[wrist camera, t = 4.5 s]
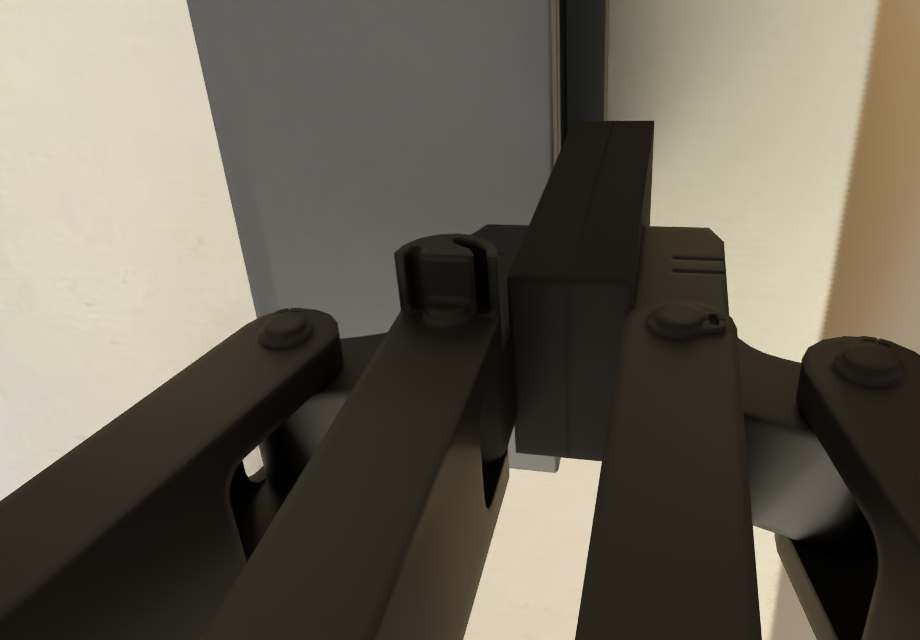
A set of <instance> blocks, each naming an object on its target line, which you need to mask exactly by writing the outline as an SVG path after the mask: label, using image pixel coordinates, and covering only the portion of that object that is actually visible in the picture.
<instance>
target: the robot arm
mask: <svg viewBox="0 0 920 640" xmlns="http://www.w3.org/2000/svg"><path fill="white" fill-rule="evenodd" d="M653 138H654V121H573V123H572V125H571V127H570V130H569V132H568V134H567V137H566V139H565V141H564V144H563V146H562V148H561V151H560V153H559V156H558V158H557V160H556V163H555V165H554V167H553V170H552V172H551V174H550V177H549V179H548V182H547V184H546V186H545V189H544V191H543V193H542V196H541V198H540V200H539V203H538V205H537V208H536V210H535V212H534V215H533V217H532V219H531V222H530V224H529V225H500V224H487V225H485V226H484V227H482V228H481V229H479V230H477V231H476V232H474V233H473V234H471V235H467V234H458V233H455V234H437V235H432V236H428V237H423V238H419V239H416V240H414V241H411V242H409V243H407V244H404V245H403V246H402V247H400V248H399V249H398V250H397V251H396V252H395V253H394V259H395V267H396V275H397V283H398V291H399V299H400V307H401V311H400V313H399V314H398V316H397V318H396V319H395V321H394V323H393V324H392V326H391V328H390V329H389V331H388V332H386V333H380V334H375V335H368V336H360V337H351V338H343V339H340V334H339V328H338V322H337V321H336V320H335V319H334V318H333V317H332V316H331V315H330V314H328V313H325V312H322V311H319V310H315V309H303V308H291V309H289V308H286V309H280V310H277V311H275V312H274V313H271V314H267V315H264V316H261V317H259V318H257V319H256V320H254V321H252V322H250V323H248V324H246V325H245V326H244V327H242V328H241V329H239V330H238V331H237V332H235V333H234V334H232V335H231V336H230V337H228V338H227V339H225V340H224V341H223V342H221V343H220V344H218V345H217V346H216V347H214V348H213V349H212V350H210V351H209V352H207V353H206V354H205V355H203V356H202V357H200V358H199V359H198V360H196V361H195V362H193V363H192V364H191V365H189V366H188V367H186V368H185V369H184V370H182V371H181V372H180V373H178V374H177V375H175V376H174V377H173V378H171V379H170V380H168V381H167V382H166V383H164V384H163V385H161V386H160V387H159V388H157V389H156V390H154V391H153V392H152V393H150V394H149V395H147V396H146V397H145V398H143V399H142V400H141V401H139V402H138V403H136V404H135V405H134V406H132V407H131V408H129V409H128V410H127V411H125V412H124V413H122V414H121V415H120V416H118V417H117V418H115V419H114V420H113V421H111V422H110V423H109V424H107V425H106V426H104V427H103V428H102V429H100V430H99V431H97V432H96V433H95V434H93V435H92V436H90V437H89V438H88V439H86V440H85V441H83V442H82V443H81V444H79V445H78V446H76V447H75V448H74V449H72V450H71V451H70V452H68V453H67V454H65V455H64V456H63V457H61V458H60V459H58V460H57V461H56V462H54V463H53V464H51V465H50V466H49V467H47V468H46V469H44V470H43V471H42V472H40V473H39V474H38V475H36V476H35V477H33V478H32V479H31V480H29V481H28V482H26V483H25V484H24V485H22V486H21V487H19V488H18V489H17V490H15V491H14V492H12V493H11V494H10V495H8V496H7V497H5V498H4V499H3V500H1V501H0V640H463V638H464V635H465V631H466V627H467V624H468V620H469V617H470V613H471V610H472V606H473V603H474V599H475V596H476V592H477V589H478V585H479V582H480V578H481V575H482V571H483V568H484V564H485V561H486V557H487V554H488V550H489V546H490V543H491V539H492V536H493V532H494V529H495V525H496V522H497V518H498V515H499V511H500V508H501V504H502V501H503V497H504V494H505V490H506V487H507V483H508V480H509V456H508V444H509V441H510V438H511V434H512V431H513V428H514V427H515V447H516V453H522V454H532V455H543V456H553V457H563V458H574V459H584V460H594V461H602V466H601V472H600V479H599V485H598V492H597V498H596V505H595V512H594V518H593V525H592V531H591V538H590V545H589V551H588V558H587V564H586V571H585V578H584V584H583V591H582V597H581V604H580V611H579V617H578V624H577V630H576V637H575V640H762V636H761V624H760V611H759V599H758V586H757V574H756V561H755V549H754V536H753V525H754V526H757V527H760V528H762V529H765V530H768V531H771V532H774V533H775V541H776V547H777V552H778V554H779V556H780V558H781V561H782V563H783V565H784V567H785V570H786V572H787V574H788V576H789V578H790V581H791V583H792V585H793V587H794V590H795V592H796V594H797V596H798V598H799V601H800V603H801V605H802V607H803V610H804V612H805V614H806V616H807V619H808V621H809V623H810V625H811V627H812V629H813V632H814V634H815V636H816V639H817V640H920V355H918V354H917V353H916V352H914V351H912V350H909V349H907V348H905V347H902V346H900V345H897V344H895V343H893V342H891V341H887V340H884V339H879V340H878V339H876V338H874V337H866V336H861V337H847V336H843V337H837V338H832V339H826V340H822V341H820V342H818V343H816V344H814V345H812V346H811V347H809V348H808V349H807V351H806V353H805V355H804V356H803V358H802V363H799V362H794V361H790V360H786V359H782V358H779V357H775V356H772V355H769V354H765V353H763V352H761V351H759V350H757V349H754V348H752V347H750V346H749V345H747V344H746V343H745V342H743V341H742V340H740V339H739V338H738V337H737V328H736V326H735V324H734V322H733V320H732V318H731V317H730V316H729V307H728V293H727V280H726V266H725V252H724V242H723V241H722V240H721V239H720V238H719V237H718V236H717V235H716V234H715V233H714V232H713V231H712V230H710V229H709V228H693V227H657V226H650V207H651V184H652V161H653ZM258 445H259V448H260V452H261V456H262V460H263V464H264V466H263V467H262V468H261V469H260V470H259V471H257V472H256V473H255V474H254V475H252V476H250V477H248V476H247V475H246V473H245V469H244V465H243V461H242V460H243V459H244V458H245V457H246V456H247V455H248V454H249V453H250V452H251V451H252V450H254V449H255V448H256V447H257V446H258Z"/></svg>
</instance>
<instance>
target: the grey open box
mask: <svg viewBox="0 0 920 640" xmlns="http://www.w3.org/2000/svg"><path fill="white" fill-rule="evenodd" d="M187 4H188V9H189V13H190V18H191V22H192V27H193V31H194V36H195V40H196V45H197V49H198V54H199V58H200V63H201V67H202V72H203V76H204V81H205V85H206V90H207V94H208V99H209V104H210V108H211V113H212V117H213V122H214V126H215V131H216V135H217V140H218V144H219V149H220V153H221V158H222V162H223V167H224V171H225V176H226V180H227V185H228V189H229V194H230V198H231V203H232V207H233V212H234V216H235V221H236V225H237V230H238V234H239V239H240V244H241V248H242V253H243V257H244V262H245V266H246V271H247V275H248V280H249V284H250V289H251V293H252V298H253V302H254V307H255V311H256V316H257V318H259V317H261V316H264V315H267V314H271V313H274V312H275V311H277V310H280V309H286V308H289V309H291V308H303V309H315V310H319V311H322V312H325V313H328V314H330V315H331V316H332V317H333V318H334V319H335V320H336V321H337V322H338V328H339V334H340V339H343V338H351V337H360V336H368V335H375V334H380V333H386V332H388V331H389V329H390V328H391V326H392V324H393V323H394V321H395V319H396V318H397V316H398V314H399V313H400V311H401V307H400V299H399V291H398V283H397V275H396V267H395V259H394V253H395V252H396V251H397V250H398V249H399V248H400V247H402V246H403V245H404V244H407V243H409V242H411V241H414V240H416V239H419V238H423V237H428V236H432V235H437V234H455V233H458V234H467V235H471V234H473V233H474V232H476V231H477V230H479V229H481V228H482V227H484V226H485V225H487V224H500V225H529V224H530V222H531V219H532V217H533V215H534V212H535V210H536V208H537V205H538V203H539V200H540V198H541V196H542V193H543V191H544V189H545V186H546V184H547V182H548V179H549V177H550V174H551V172H552V170H553V167H554V165H555V163H556V160H557V158H558V156H559V153H560V151H561V148H562V146H563V144H564V141H565V139H566V137H567V134H568V132H569V130H570V127H571V125H572V123H573V121H607V87H608V31H609V0H187ZM508 456H509V468H514V469H524V470H534V471H543V472H553V473H555V472H557V471H558V468H559V464H560V459H561V457H553V456H543V455H532V454H522V453H516V447H515V427H514V428H513V431H512V434H511V438H510V441H509V444H508Z"/></svg>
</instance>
